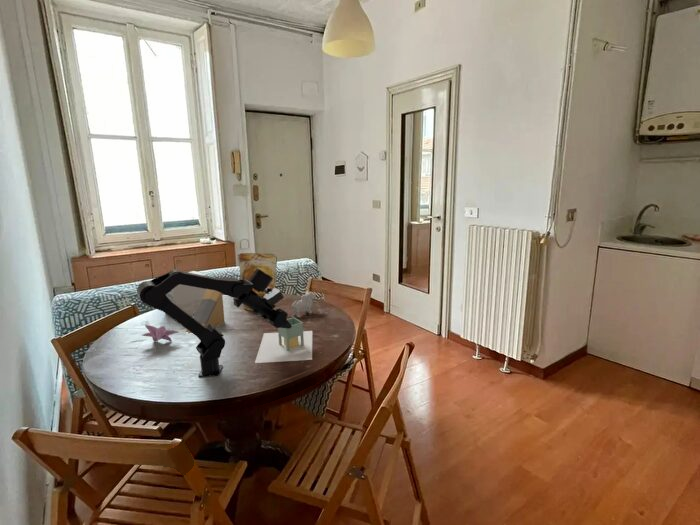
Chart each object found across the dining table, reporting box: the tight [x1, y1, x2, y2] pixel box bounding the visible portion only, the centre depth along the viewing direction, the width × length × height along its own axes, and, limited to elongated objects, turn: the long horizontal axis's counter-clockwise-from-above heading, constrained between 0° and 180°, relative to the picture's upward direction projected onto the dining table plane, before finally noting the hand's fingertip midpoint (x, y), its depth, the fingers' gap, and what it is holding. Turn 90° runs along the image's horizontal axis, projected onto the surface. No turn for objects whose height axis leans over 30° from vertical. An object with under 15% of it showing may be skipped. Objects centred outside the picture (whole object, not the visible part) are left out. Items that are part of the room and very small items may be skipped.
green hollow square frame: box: [277, 316, 304, 351], centre depth 140 cm, size 7×7×10 cm
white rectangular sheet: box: [254, 330, 313, 364], centre depth 141 cm, size 25×20×1 cm
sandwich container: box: [185, 289, 225, 334], centre depth 159 cm, size 9×15×15 cm, turn 158°
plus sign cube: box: [284, 337, 299, 348], centre depth 140 cm, size 4×4×4 cm
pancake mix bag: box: [237, 252, 278, 312], centre depth 178 cm, size 7×19×28 cm, turn 79°
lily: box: [141, 324, 179, 350], centre depth 142 cm, size 12×12×10 cm
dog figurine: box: [291, 290, 317, 318], centre depth 173 cm, size 5×13×11 cm, turn 133°
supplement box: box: [164, 270, 208, 316], centre depth 177 cm, size 17×13×18 cm
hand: (284, 323), depth 137 cm, fingers open, 9 cm apart
